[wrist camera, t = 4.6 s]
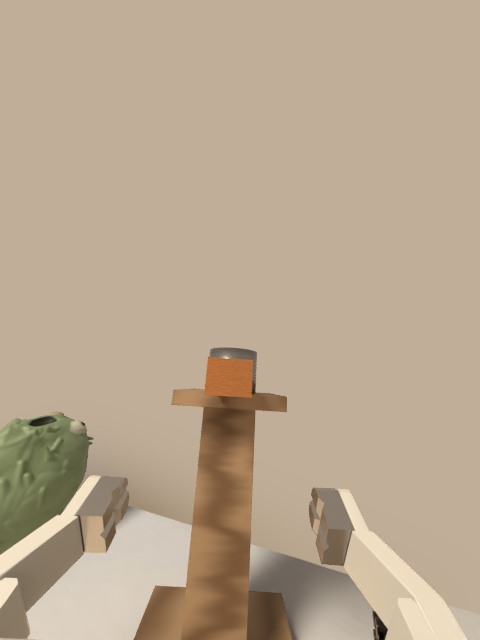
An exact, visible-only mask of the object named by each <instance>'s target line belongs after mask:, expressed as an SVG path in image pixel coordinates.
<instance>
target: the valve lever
mask: <svg viewBox="0 0 480 640" xmlns="http://www.w3.org/2000/svg"><path fill="white" fill-rule="evenodd" d="M256 362H257V352H255V351H251V350H247V349H239V348H213V349H211V350H210V357H208V363H207V374H206V384H205V394H204V395H213V396H229V397H245V398H252V394H255V386H256Z"/></svg>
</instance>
